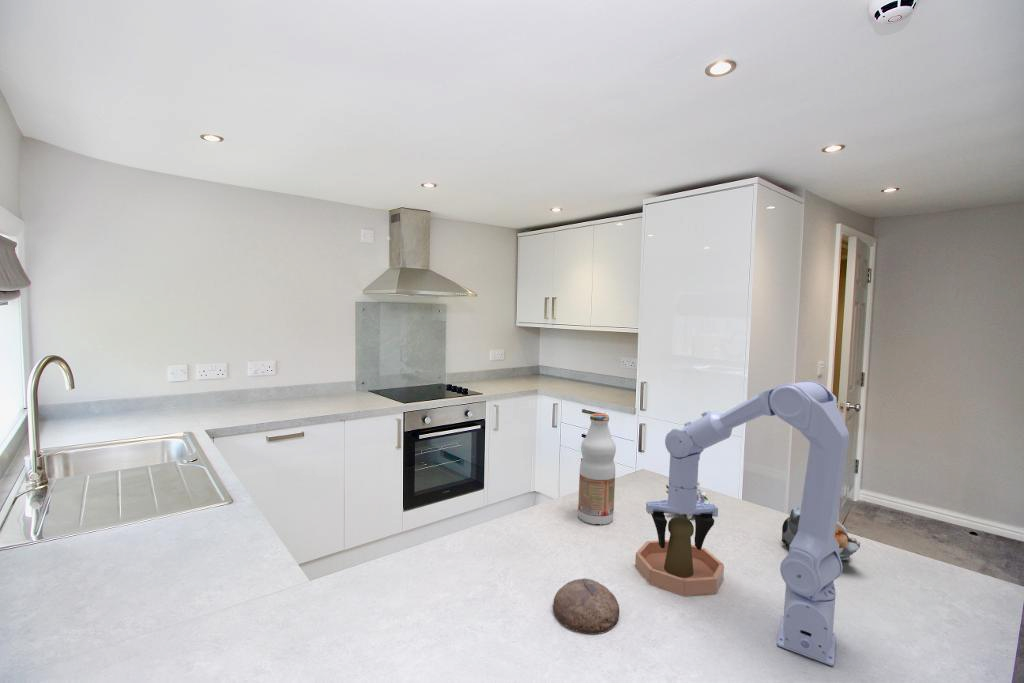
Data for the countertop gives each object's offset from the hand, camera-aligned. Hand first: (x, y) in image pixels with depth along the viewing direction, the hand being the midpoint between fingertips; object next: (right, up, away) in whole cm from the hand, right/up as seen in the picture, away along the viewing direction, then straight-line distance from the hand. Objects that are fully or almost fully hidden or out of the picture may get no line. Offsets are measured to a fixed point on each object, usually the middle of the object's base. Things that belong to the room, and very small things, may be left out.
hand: (679, 546), depth 102 cm
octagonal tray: (0, -6, 0) cm, 6 cm away
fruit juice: (-13, -4, +27) cm, 30 cm away
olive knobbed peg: (0, -5, 0) cm, 5 cm away
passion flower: (+13, -4, +32) cm, 35 cm away
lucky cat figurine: (+36, -6, +9) cm, 37 cm away
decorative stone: (-22, -6, -14) cm, 27 cm away
